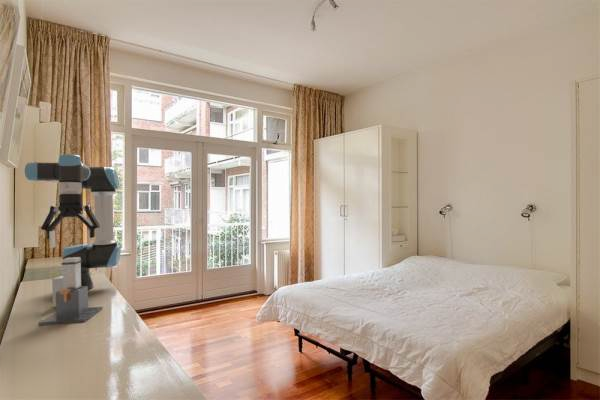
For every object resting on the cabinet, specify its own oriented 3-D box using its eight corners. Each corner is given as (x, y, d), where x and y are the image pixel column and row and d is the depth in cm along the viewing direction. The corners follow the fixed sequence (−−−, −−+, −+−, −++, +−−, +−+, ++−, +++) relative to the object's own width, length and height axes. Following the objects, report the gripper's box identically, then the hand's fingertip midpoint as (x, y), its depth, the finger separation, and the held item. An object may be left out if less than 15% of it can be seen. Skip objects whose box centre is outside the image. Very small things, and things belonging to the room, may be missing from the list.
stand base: (61, 311, 143) (60, 283, 143) (102, 308, 145) (102, 281, 145) (38, 325, 127) (38, 293, 127) (85, 321, 130) (85, 290, 130)
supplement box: (80, 302, 156) (79, 274, 156) (67, 307, 149) (67, 278, 149) (65, 302, 157) (64, 274, 157) (52, 307, 150) (51, 278, 150)
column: (68, 312, 138) (67, 257, 138) (82, 311, 139) (81, 256, 139) (62, 316, 133) (61, 259, 133) (76, 315, 134) (75, 258, 134)
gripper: (29, 193, 131) (30, 249, 130) (100, 192, 135) (101, 246, 134) (41, 194, 138) (42, 247, 138) (108, 193, 142) (108, 244, 142)
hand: (71, 246), depth 136 cm, fingers open, 13 cm apart
